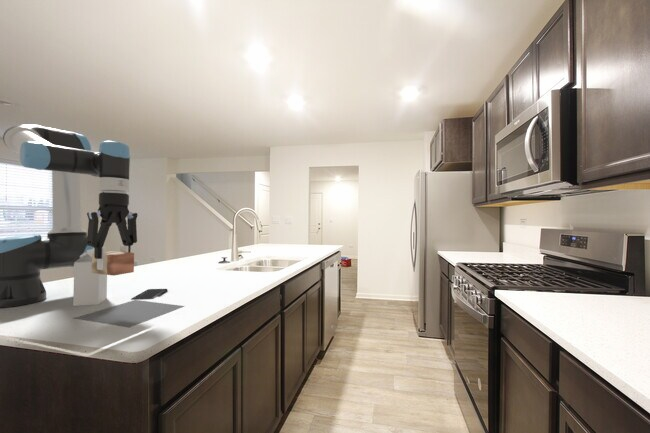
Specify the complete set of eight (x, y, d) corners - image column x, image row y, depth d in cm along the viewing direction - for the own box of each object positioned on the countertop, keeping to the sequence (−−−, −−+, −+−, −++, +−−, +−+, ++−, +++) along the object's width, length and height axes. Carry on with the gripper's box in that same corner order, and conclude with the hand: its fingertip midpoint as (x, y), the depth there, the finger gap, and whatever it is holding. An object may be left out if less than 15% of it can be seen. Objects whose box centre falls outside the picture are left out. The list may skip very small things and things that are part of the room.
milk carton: (106, 300, 105) (107, 248, 105) (98, 305, 99) (99, 250, 99) (83, 301, 103) (84, 248, 103) (72, 307, 96) (74, 250, 96)
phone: (168, 288, 120) (152, 298, 105) (168, 291, 120) (152, 301, 105) (147, 289, 119) (129, 299, 104) (147, 291, 119) (129, 302, 104)
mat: (72, 320, 85) (72, 318, 85) (135, 301, 104) (135, 299, 104) (129, 329, 78) (129, 327, 78) (184, 307, 98) (184, 306, 98)
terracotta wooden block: (91, 272, 88) (91, 253, 88) (112, 269, 93) (112, 251, 93) (113, 275, 84) (114, 255, 84) (133, 272, 90) (134, 252, 90)
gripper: (87, 189, 79) (86, 274, 78) (151, 195, 96) (150, 264, 96) (70, 190, 81) (68, 272, 81) (135, 195, 99) (134, 262, 99)
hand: (113, 267), depth 89 cm, fingers closed on terracotta wooden block, 6 cm apart
